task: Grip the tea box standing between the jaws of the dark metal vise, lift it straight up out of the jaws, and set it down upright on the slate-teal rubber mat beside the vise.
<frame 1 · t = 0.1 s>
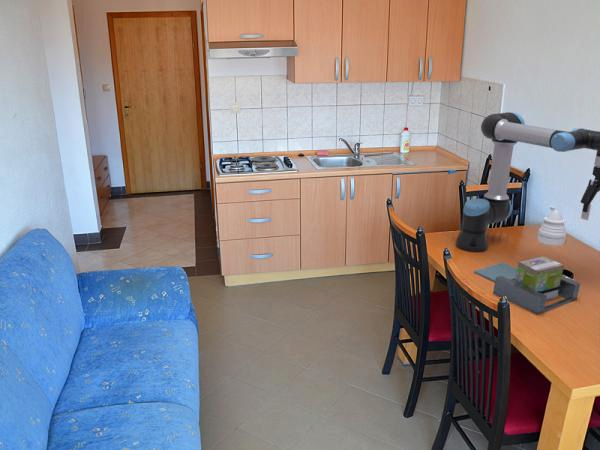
hand: (593, 216, 222), 28 cm above the table, tool pointing down, fingers open, 13 cm apart
vise: (534, 296, 215), on the table
tea box: (534, 296, 215), resting in vise
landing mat: (501, 273, 234), on the table
honey pot: (550, 241, 274), on the table
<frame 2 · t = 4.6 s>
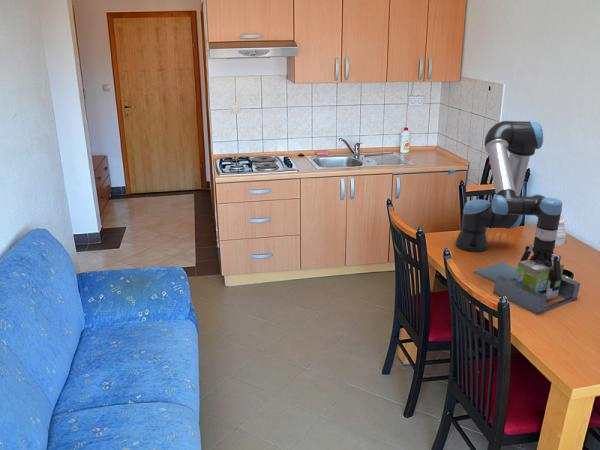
hand: (536, 289, 214), 3 cm above the table, tool pointing down, fingers closed on tea box, 10 cm apart
tea box: (534, 296, 215), resting in vise, touching gripper
everything else where it was.
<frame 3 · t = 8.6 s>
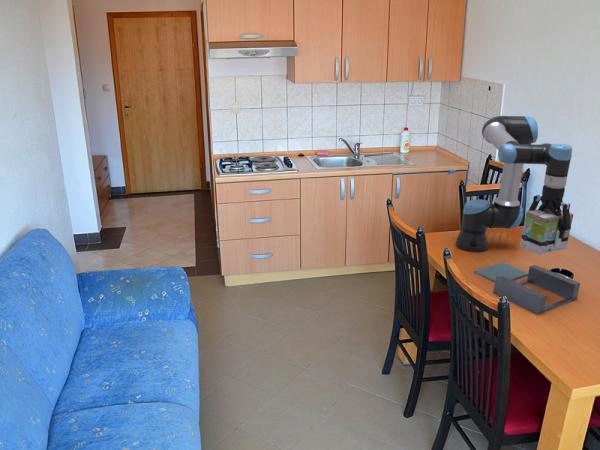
hand: (544, 241, 207), 24 cm above the table, tool pointing down, fingers closed on tea box, 10 cm apart
tea box: (543, 248, 208), point 21 cm above the table, touching gripper
everything else where it was.
when the fingers open (5 cm above the table, at t = 13.1 s): tea box drops 1 cm, resting on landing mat.
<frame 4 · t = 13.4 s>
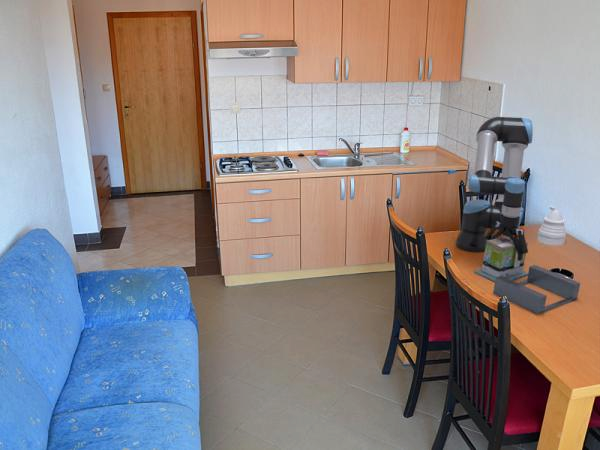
hand: (503, 261, 232), 6 cm above the table, tool pointing down, fingers open, 13 cm apart
tea box: (502, 272, 234), point 1 cm above the table, touching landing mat
everything else where it was.
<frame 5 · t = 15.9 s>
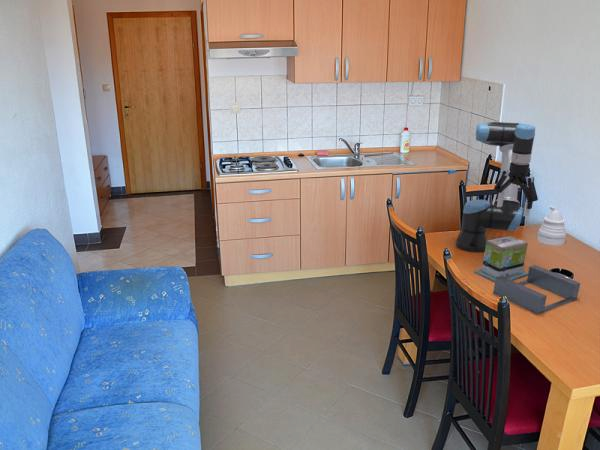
hand: (512, 211, 228), 28 cm above the table, tool pointing down, fingers open, 13 cm apart
nothing on the table moved.
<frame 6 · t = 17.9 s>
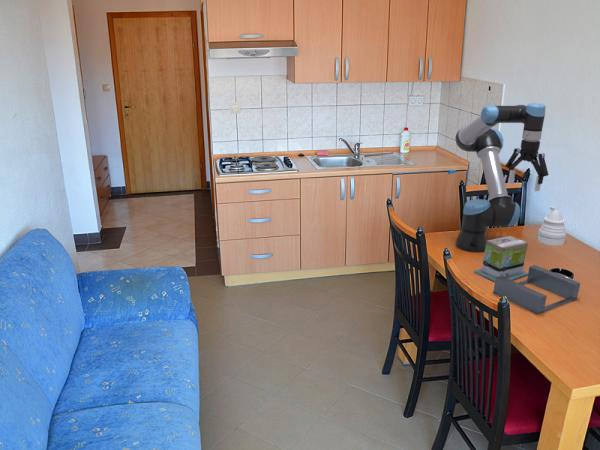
hand: (523, 187, 239), 35 cm above the table, tool pointing down, fingers open, 13 cm apart
nothing on the table moved.
at the end: tea box inside the target area on the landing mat (0.2 cm from its centre), point 0.6 cm above the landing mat's base; tea box tilted 0°; tea box touching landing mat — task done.
